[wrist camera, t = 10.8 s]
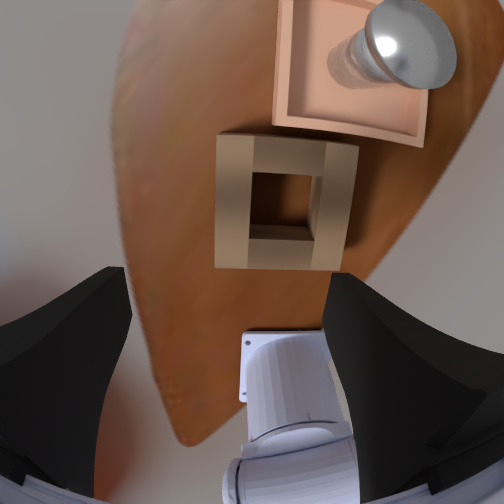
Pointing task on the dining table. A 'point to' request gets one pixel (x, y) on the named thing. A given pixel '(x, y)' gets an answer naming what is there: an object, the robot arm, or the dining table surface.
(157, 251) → the dining table surface
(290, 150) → the brown square frame
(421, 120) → the tray
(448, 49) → the pin
